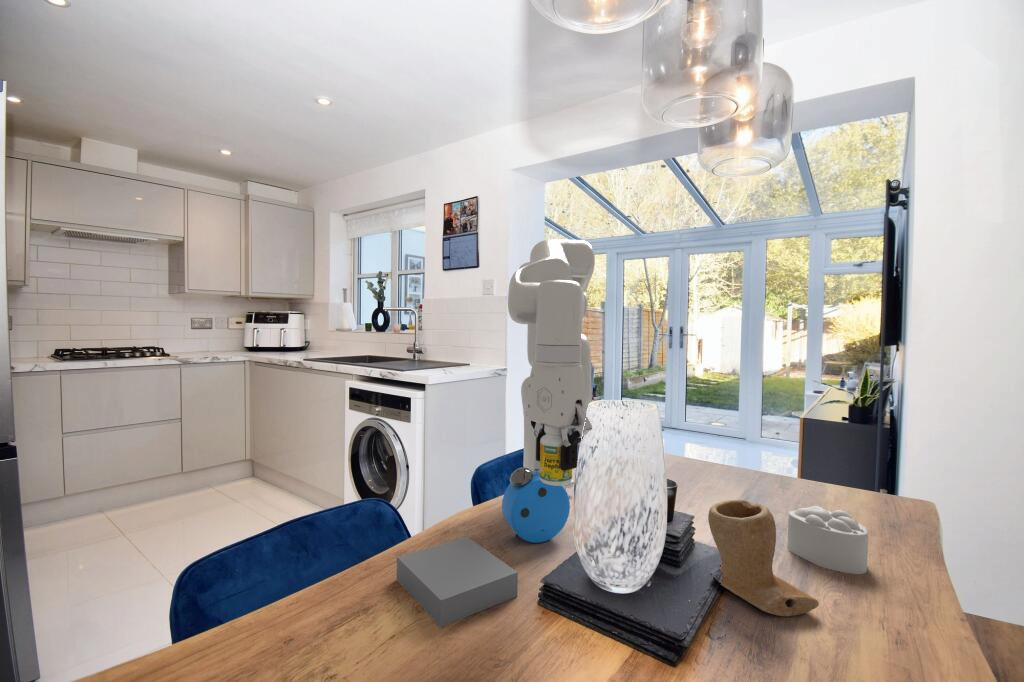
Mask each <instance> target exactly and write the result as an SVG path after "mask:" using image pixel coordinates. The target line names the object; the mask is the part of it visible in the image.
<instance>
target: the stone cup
mask: <svg viewBox="0 0 1024 682" xmlns="http://www.w3.org/2000/svg"><path fill="white" fill-rule="evenodd" d="M707 517H708V525H709V529H710V532H711V536H712V538H713V541H714V543H715V546H716V548H717V551H718V553H719V555H720V560H721V563H720V565H721V567H720V570H721V572H722V581H721V584H720V585H721V586H722V587H723V588H725V589H726V590H729V591H730V592H731V593H733V594H734V595H736V596H738V597H740V598H741V599H742V600H744V601H745V602H747V603H749V604H751V605H752V606H754V607H756V608H758V609H760V611H763V612H765V613H768V614H771V615H774V616H779V617H792V616H793V617H795V616H798V615H803V614H805V613H809V612H811V611H813V610H815V609H816V608H818V607H819V605H820V604H819V603H820V602H819V600H818V599H816V598H815V597H813V596H811V595H810V594H808V593H806V592H804V591H802V590H801V589H799V588H797V587H795V585H793V584H791V583H789V582H787V581H786V580H784V579H782V578H780V577H778V576H776V575H775V574H774V571H773V562H774V555H775V553H776V552H775V551H776V545H777V527H776V521H775V518H774V515H773V514H772V511H771V510H770V509H769V508H768V507H767V506H766V505H764V504H762V503H753V502H751V501H748V500H745V499H744V500H743V499H727V500H724V501H719V502H717V503H713V504H712V505H711V507H710V508H709V510H708V515H707Z"/></svg>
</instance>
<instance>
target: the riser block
mask: <svg viewBox="0 0 1024 682" xmlns="http://www.w3.org/2000/svg"><path fill="white" fill-rule="evenodd" d="M518 574H519V573H518V571H517V570H516V569H513V568H512V566H510V565H508V564H507V563H505V562H504V561H502V560H501V559H500V558H498V557H497V556H496V555H494V554H492V553H491V552H490V551H488V550H487V549H485V548H484V547H483V546H481V545H480V544H478V543H477V542H475V541H474V540H472V538H470V537H469V536H464V537H461V538H457V539H453V540H450V541H446V542H443V543H439V544H436V545H435V544H434V545H433V546H430V547H426V548H422V549H419V550H415V551H412V552H409V553H405V554H402V555H397V556H396V581H398V582H399V584H400V585H401V586H402V587H403V588H404V589H405V590H406V591H407V593H409V595H410V596H411V597H412V598H413V599H414V600H415V601H416V602H417V603H418V605H419V606H420V607H422V609H423V610H424V611H425V612H426V613H427V614H428V616H430V617H431V618H432V620H433V619H434V620H433V621H434V622H435V621H436V622H435V623H436V624H437V625H438V626H439V627H440V628H442V627H445V626H447V625H450V624H452V623H454V622H457V621H460V620H463V619H465V618H467V617H469V616H472V615H474V614H477V613H479V612H483V611H485V610H486V609H489V608H492V607H494V606H497V605H499V604H500V605H501V604H502V603H504V602H507V601H510V600H512V599H513V598H517V597H518V587H519V586H518V583H519V581H518V579H519V575H518Z"/></svg>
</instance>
